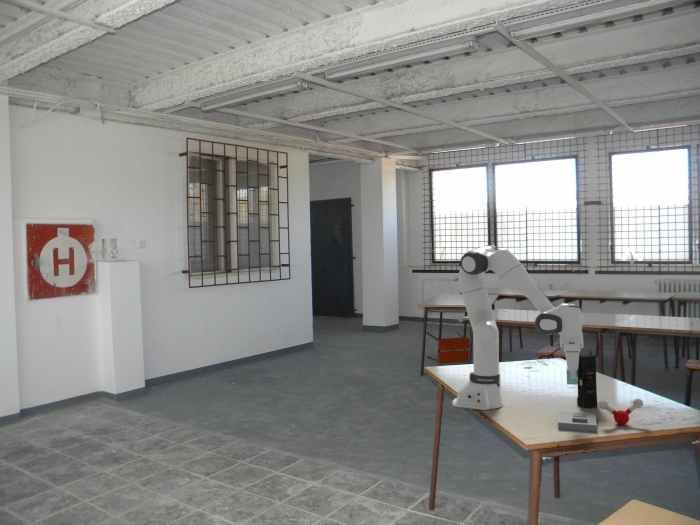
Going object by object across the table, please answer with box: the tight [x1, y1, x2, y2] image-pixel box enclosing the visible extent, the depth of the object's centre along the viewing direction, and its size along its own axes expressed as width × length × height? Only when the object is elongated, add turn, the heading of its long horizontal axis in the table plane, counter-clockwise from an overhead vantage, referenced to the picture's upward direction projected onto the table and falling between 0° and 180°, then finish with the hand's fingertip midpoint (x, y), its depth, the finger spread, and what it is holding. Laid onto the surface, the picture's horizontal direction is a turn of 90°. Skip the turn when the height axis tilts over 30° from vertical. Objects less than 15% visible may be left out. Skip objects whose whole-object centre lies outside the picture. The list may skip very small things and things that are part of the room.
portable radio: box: [576, 348, 598, 409], centre depth 259 cm, size 8×6×25 cm
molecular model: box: [597, 398, 644, 426], centre depth 233 cm, size 18×6×10 cm, turn 89°
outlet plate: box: [557, 410, 598, 433], centre depth 235 cm, size 14×16×3 cm
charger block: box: [566, 366, 578, 386], centre depth 238 cm, size 4×4×6 cm
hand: (573, 377), depth 238 cm, fingers closed on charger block, 4 cm apart
